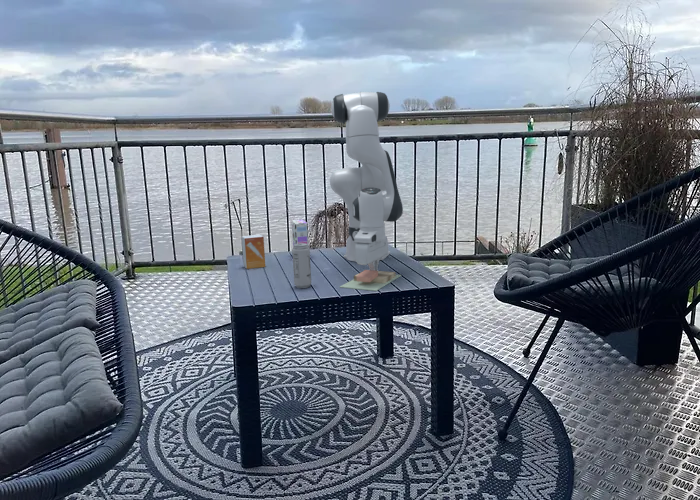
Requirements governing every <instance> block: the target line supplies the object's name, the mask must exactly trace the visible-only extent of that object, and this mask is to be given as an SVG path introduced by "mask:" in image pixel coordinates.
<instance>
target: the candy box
mask: <svg viewBox="0 0 700 500" xmlns="http://www.w3.org/2000/svg"><path fill="white" fill-rule="evenodd" d="M290 222H291V233H292V247H294V244H299V243H306V244H308V247H309V248H310V245H309V244H310V243H309V241H310V240H309V224H308V222H307V221H306V220H304V219H293V220H291V221H290Z"/></svg>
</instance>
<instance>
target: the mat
mask: <svg viewBox="0 0 700 500" xmlns="http://www.w3.org/2000/svg"><path fill="white" fill-rule="evenodd" d="M400 277H402V274H396V277H394V278H393V279H391V280H389V281H388V282H386V283H375V282H360V281H354V278H353V279H352V280H349V281H347V282H346V283H344V284H342V285H340V286H339V289H341V288H342V289H352V290H360V291H361V290H363V291H371V292H373V291H374V292H377V291H379V290H380V289H383V288H384V287H386V286H387V285H389V284H390V283H392V282H394V281H395V280H398V279H399V278H400Z"/></svg>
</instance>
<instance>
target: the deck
mask: <svg viewBox="0 0 700 500" xmlns="http://www.w3.org/2000/svg"><path fill="white" fill-rule="evenodd" d="M362 272H363V271H361V272H359V273H357V274H355V275H353V279H354V281H357V278H356V276H358V275H359V274H360V273H362ZM396 275H397V274H396V271H387V270H386V271H385V270H384V271H383V270H378V276H377V277H376V278H375V279H373V280H372V281H371V282H375V283H386V282H388V281H389V280H391V279H393V278H394V277H396Z"/></svg>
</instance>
